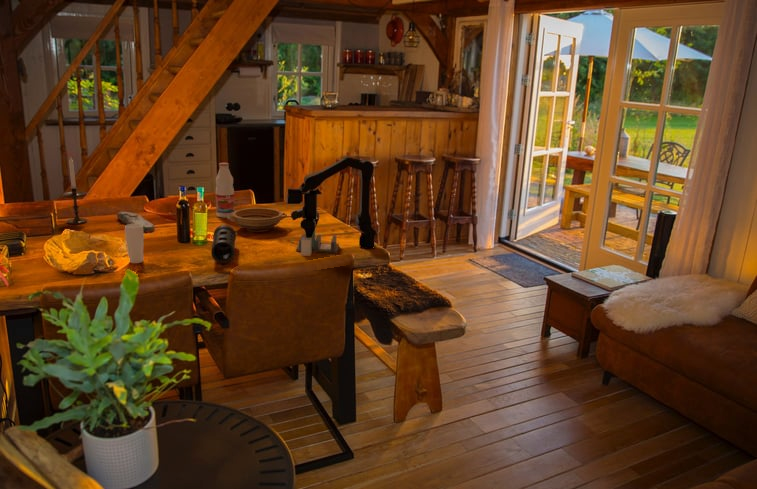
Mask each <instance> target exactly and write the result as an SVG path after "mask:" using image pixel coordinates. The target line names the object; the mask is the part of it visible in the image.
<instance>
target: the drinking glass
mask: <svg viewBox="0 0 757 489" xmlns="http://www.w3.org/2000/svg"><path fill="white" fill-rule="evenodd" d="M144 233H145V232H143V225H141V224H126V225H125V226H124V236H125V243H126V247H127V254H128V259H129V258H130V262H129V263H131V264H140V263H143V262H144V242H145V240H144V238H145V237H144V236H145V235H144Z"/></svg>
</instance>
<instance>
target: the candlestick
mask: <svg viewBox="0 0 757 489" xmlns="http://www.w3.org/2000/svg"><path fill="white" fill-rule="evenodd" d="M68 156H69V160H68V166H69V167H68V168H69V175H70V184H71V186H70V187H69V190H70V189H71V190H70V191H65V192H62V193H61V196H62V197H63V198H68V199H69V198H70V199H73V206H72V209H73V210H74V211H73V214H74V218H70V219H67V220H66V224H68V225H75V226H76V225H82V224H87V223H88V219H87V218H84V217H83V218H82V217H80V216H79V213H80V211H79V209H80V206H78V202H77V201H78V200H77V199H78V198H83V197H86V196H88V192H87V191H83V190H82V191H81V190H77V189H79V187H77V184H76V176H75V166H74V165H75V163H74V160H73V158H72V152H71V151H70V150H68Z"/></svg>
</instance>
